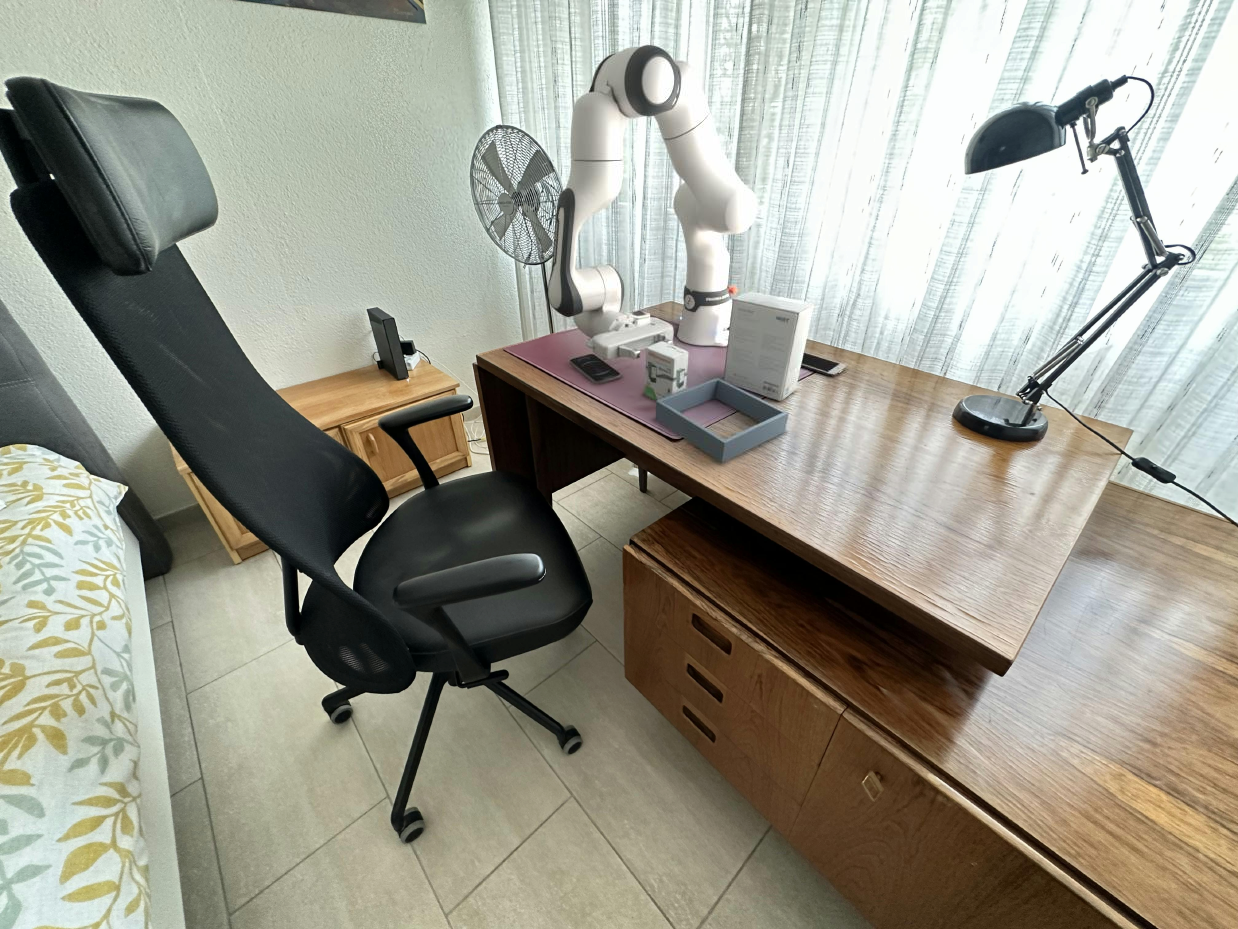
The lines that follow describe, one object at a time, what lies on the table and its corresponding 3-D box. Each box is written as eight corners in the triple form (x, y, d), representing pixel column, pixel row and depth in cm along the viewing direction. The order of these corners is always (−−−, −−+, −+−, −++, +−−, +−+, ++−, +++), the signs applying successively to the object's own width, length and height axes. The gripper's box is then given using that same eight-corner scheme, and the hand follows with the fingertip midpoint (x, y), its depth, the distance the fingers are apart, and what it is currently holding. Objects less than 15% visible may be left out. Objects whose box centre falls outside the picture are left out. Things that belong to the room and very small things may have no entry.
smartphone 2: (833, 377, 114) (833, 374, 113) (778, 359, 123) (778, 356, 122) (847, 368, 118) (848, 365, 117) (793, 351, 127) (793, 348, 126)
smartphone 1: (595, 382, 113) (568, 359, 123) (596, 385, 113) (568, 362, 124) (622, 374, 116) (593, 353, 126) (622, 377, 116) (593, 356, 127)
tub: (715, 395, 108) (717, 377, 105) (784, 432, 95) (788, 412, 92) (655, 419, 100) (655, 400, 97) (721, 463, 87) (724, 442, 84)
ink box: (643, 395, 109) (644, 346, 102) (658, 388, 112) (659, 340, 105) (671, 408, 104) (673, 357, 97) (686, 400, 106) (689, 350, 99)
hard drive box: (796, 390, 109) (816, 303, 97) (780, 402, 105) (799, 313, 93) (738, 371, 118) (749, 289, 106) (721, 382, 113) (731, 297, 101)
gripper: (581, 329, 107) (615, 348, 98) (651, 310, 116) (689, 326, 107) (582, 355, 111) (616, 375, 102) (651, 335, 120) (687, 352, 111)
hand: (654, 350), depth 105 cm, fingers open, 8 cm apart
